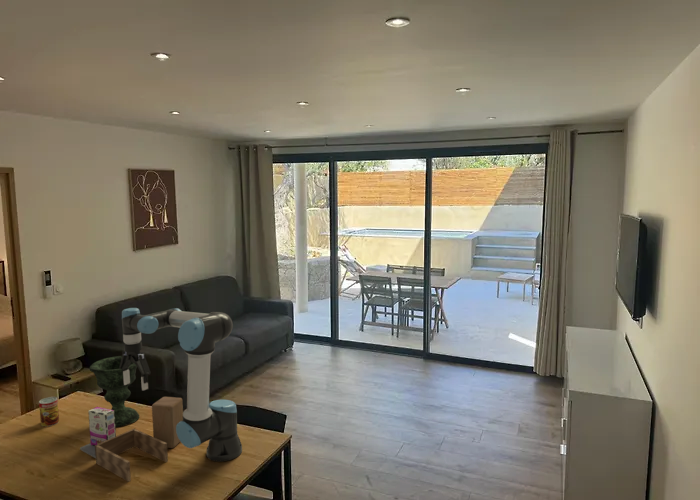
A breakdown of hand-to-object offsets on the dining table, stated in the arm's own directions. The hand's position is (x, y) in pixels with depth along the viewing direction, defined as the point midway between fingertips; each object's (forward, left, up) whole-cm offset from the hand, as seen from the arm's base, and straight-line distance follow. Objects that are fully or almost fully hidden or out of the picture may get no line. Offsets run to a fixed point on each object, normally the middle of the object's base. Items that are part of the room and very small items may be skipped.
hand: (135, 386), depth 224 cm
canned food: (+51, +16, -25) cm, 59 cm away
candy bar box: (+6, +14, -24) cm, 28 cm away
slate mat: (+5, +14, -25) cm, 29 cm away
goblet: (+25, -5, -25) cm, 36 cm away
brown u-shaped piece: (-18, +14, -25) cm, 34 cm away
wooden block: (-16, -5, -25) cm, 30 cm away
